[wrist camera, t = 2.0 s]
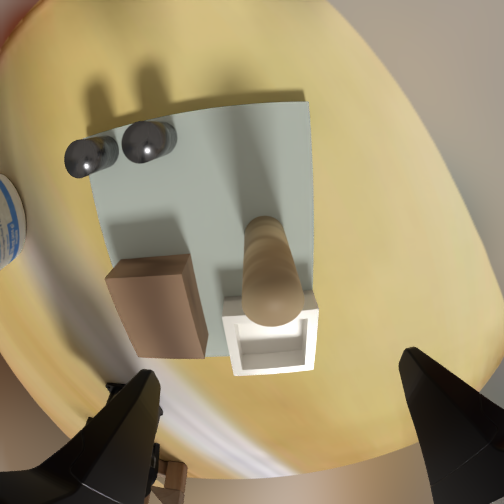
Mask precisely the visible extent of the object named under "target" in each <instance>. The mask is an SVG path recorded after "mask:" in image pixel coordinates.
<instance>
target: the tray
mask: <svg viewBox="0 0 504 504" xmlns="http://www.w3.org/2000/svg"><path fill="white" fill-rule="evenodd" d="M303 293H304V299H305V301H304V306H303V309H302V311H301V313H300V314H299V315H298V316H297V317H296V318H295V319H294V320H292V321H291V322H289V323H287V324H284V325H281V326H276V327H266V326H261V325H258V324H256V323H254V322H252V321H251V320H250V319H249V318H248V317H247V316H246V315H245V313H244V312H243V309H242V296H229V297H224V304H223V311H222V320H223V325H224V330H225V335H226V340H227V345H228V350H229V354H230V359H231V364H232V368H233V373H234V376H244V375H262V374H276V373H287V372H297V371H306V370H313V368H314V359H315V349H316V339H317V327H318V314H319V308H318V305H317V302H316V299H315V296H314V293H313V290H305V291H303Z"/></svg>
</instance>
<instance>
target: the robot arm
mask: <svg viewBox="0 0 504 504" xmlns="http://www.w3.org/2000/svg"><path fill="white" fill-rule="evenodd" d="M399 372H400V376H401V380H402V384H403V389H404V393H405V397H406V401H407V405H408V408H409V411H410V414H411V417H412V420H413V423H414V426H415V430H416V433H417V436H418V440H419V443H420V446H421V450H422V454H423V458H424V461H425V465H426V469H427V473H428V477H429V481H430V485H431V491H432V496H433V501H434V504H504V409H502V408H501V407H499V406H498V405H496V404H495V403H493V402H492V401H490V400H489V399H487V398H486V397H484V396H483V395H482V394H480V393H479V392H478V391H476V390H475V389H474V388H472V387H471V386H470V385H468V384H467V383H465V382H464V381H463V380H461V379H460V378H459V377H457V376H456V375H454V374H453V373H452V372H450V371H449V370H447V369H446V368H445V367H443V366H442V365H440V364H439V363H438V362H436V361H435V360H433V359H432V358H431V357H429V356H428V355H426V354H425V353H424V352H422V351H421V350H419V349H418V348H416V347H410V348H406V349H405V350H404V352H403V354H402V357H401V359H400V361H399ZM106 388H107V389H108V390H109V392H110V395H109V398H108V400H107V403H106V405H105V407H104V408H103V409H102V410H101V411H100V412H99V413H98V414H97V415H96V416H95V417H94V418H92V417H88V420H87V422H86V425H85V427H84V428H83V429H82V430H80V431H79V432H78V433H77V434H76V435H75V436H74V437H73V438H72V439H71V440H70V441H69V442H68V443H67V444H66V445H64V446H63V447H62V448H61V449H60V450H58V451H57V452H56V453H54V454H53V455H52V456H51V457H49V458H48V459H47V460H45V461H44V462H43V463H42V464H40V465H39V466H37V467H35V468H32V469H29V470H22V471H9V472H0V504H144V499H145V498H146V497H147V496H148V495H149V494H150V492H151V485H153V484H154V482H155V480H156V478H157V474H158V468H159V448H160V444H158V443H154V440H155V434H156V432H157V427H158V423H159V419H160V416H162V415H163V411H162V410H161V408H160V407H159V400H160V389H161V388H160V383H159V381H158V379H157V377H156V375H155V373H154V371H152V370H147V369H142V370H140V371H139V372H138V373H137V374H136V375H135V376H134V377H133V378H132V379H131V380H130V381H129V382H128V383H127V384H126V385H120V384H113V383H106Z"/></svg>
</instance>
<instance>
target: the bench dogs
mask: <svg viewBox="0 0 504 504" xmlns="http://www.w3.org/2000/svg"><path fill="white" fill-rule="evenodd" d="M176 144H177V132H176V130H175V128H174V127H173V126H172V125H171V124H169V123H167V122H161V121H139V122H135V123H133V124H132V125H130V126H129V127H128V128H127V129H126V130H125V132H124V134H123V137H122V141H121V146H122V151H123V153H124V155H125V156H126V158H127V159H128V160H130V161H131V162H133V163H138V164H142V163H146V162H149V161H152V160H154V159H157V158H160V157H162V156H165V155H167V154H169V153H170V152H172V151H173V149H174V148H175V146H176ZM118 155H119V147H118V144H117V142H116V140H115V139H114V138H112V137H110V136H99V137H93V138H86V139H81V140H76V141H74V142H72V143H71V144H70V145H69V146H68V148H67V150H66V152H65V157H64V162H65V167H66V169H67V171H68V173H69V174H70V175H71V176H73V177H75V178H83V177H85V176H88V175H90V174H93V173H95V172H98V171H101V170H103V169H106V168H109V167H111V166H112V165H113V164H114V163H115V162H116V161H117V159H118Z"/></svg>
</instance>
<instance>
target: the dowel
mask: <svg viewBox="0 0 504 504" xmlns="http://www.w3.org/2000/svg"><path fill="white" fill-rule="evenodd" d="M304 301H305V299H304V293H303V290H302V286H301V283H300V280H299V276H298V273H297V270H296V266H295V263H294V260H293V257H292V253H291V250H290V247H289V244H288V241H287V238H286V234H285V231H284V228H283V226H282V224H281V223H280V222H279V221H278V220H277V219H275V218H273V217H271V216H259V217H256V218H254V219H253V220H251V221H250V222H249V224H248V225H247V227H246V229H245V236H244V258H243V280H242V309H243V312H244V313H245V315H246V316H247V317H248V318H249V319H250V320H251V321H252V322H254V323H256V324H258V325H261V326H266V327H276V326H281V325H284V324H287V323H289V322H291V321H292V320H294V319H295V318H296V317H297V316H298V315H299V314H300V313H301V311H302V309H303V306H304Z"/></svg>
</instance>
